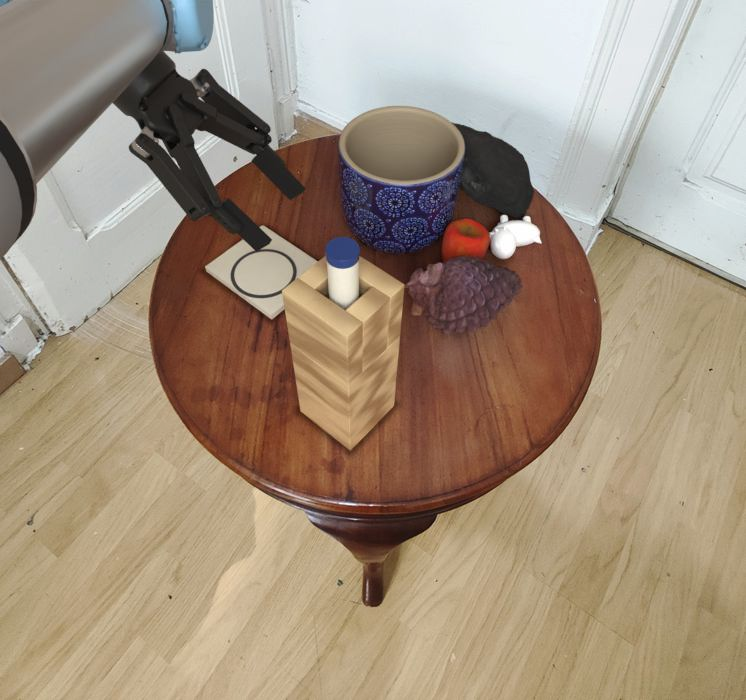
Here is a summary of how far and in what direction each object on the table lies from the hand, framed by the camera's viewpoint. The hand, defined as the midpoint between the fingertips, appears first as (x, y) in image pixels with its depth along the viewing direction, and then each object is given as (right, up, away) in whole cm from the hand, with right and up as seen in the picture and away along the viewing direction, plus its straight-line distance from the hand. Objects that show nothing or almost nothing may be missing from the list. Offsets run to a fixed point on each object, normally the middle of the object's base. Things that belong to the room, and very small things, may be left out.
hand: (281, 219), depth 75 cm
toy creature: (+31, +3, +17) cm, 35 cm away
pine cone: (+23, -11, +10) cm, 27 cm away
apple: (+22, -5, +14) cm, 27 cm away
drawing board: (-4, -5, +14) cm, 15 cm away
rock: (+30, +8, +24) cm, 39 cm away
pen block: (+8, -22, +1) cm, 24 cm away
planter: (+14, +3, +19) cm, 24 cm away
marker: (+8, -14, -10) cm, 19 cm away
